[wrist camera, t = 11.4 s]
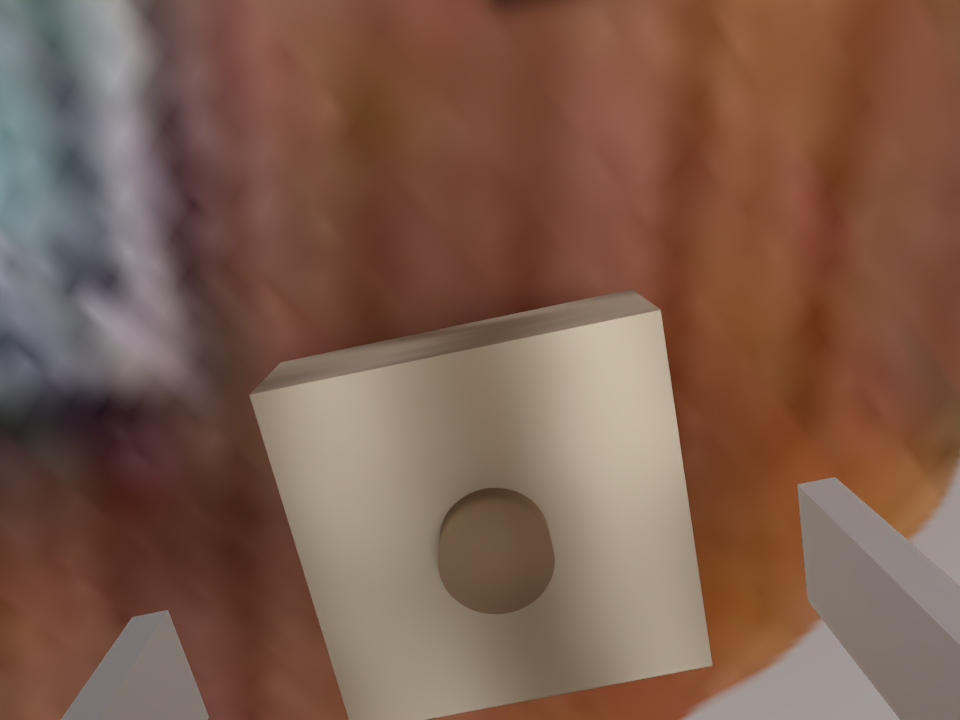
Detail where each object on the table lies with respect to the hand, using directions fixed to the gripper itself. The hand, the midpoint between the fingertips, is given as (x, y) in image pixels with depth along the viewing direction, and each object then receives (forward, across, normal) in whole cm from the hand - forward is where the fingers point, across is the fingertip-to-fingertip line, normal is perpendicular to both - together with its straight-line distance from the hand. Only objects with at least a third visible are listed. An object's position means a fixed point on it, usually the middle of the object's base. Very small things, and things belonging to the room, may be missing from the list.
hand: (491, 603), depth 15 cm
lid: (+7, 0, -1) cm, 7 cm away
